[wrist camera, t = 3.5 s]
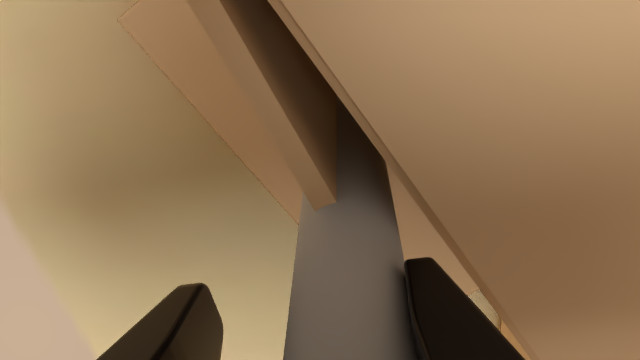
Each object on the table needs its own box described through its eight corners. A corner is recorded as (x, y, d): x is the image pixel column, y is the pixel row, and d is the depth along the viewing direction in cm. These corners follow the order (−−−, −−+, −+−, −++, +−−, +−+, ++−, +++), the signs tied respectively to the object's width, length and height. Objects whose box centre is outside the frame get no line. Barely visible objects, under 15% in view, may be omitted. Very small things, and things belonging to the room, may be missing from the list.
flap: (389, 139, 14) (484, 569, 5) (330, 165, 14) (319, 601, 5) (263, -120, 11) (-71, -216, 2) (194, -77, 11) (-329, 6, 2)
